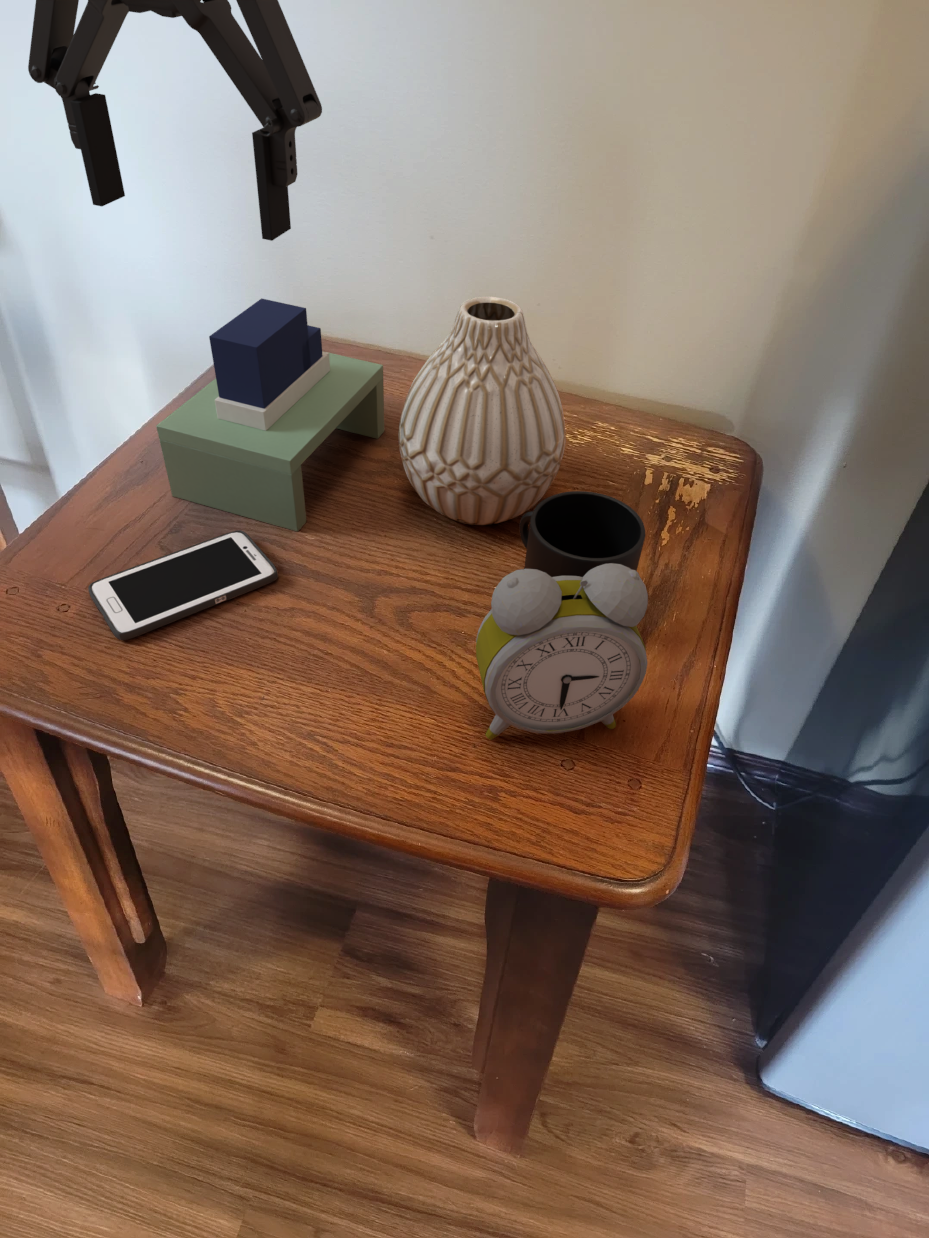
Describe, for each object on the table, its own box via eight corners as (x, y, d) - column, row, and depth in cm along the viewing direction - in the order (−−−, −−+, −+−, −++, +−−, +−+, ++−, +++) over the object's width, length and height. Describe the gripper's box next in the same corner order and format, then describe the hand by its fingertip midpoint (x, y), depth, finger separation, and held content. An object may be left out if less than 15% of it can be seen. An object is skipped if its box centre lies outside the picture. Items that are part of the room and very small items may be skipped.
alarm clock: (479, 756, 63) (494, 608, 53) (465, 687, 68) (476, 539, 57) (629, 742, 65) (673, 596, 54) (606, 676, 69) (641, 530, 59)
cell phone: (86, 592, 73) (83, 584, 73) (243, 535, 80) (242, 527, 79) (119, 645, 69) (116, 637, 68) (282, 580, 76) (281, 572, 75)
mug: (551, 544, 82) (563, 464, 75) (647, 610, 75) (669, 529, 69) (478, 584, 77) (485, 503, 71) (575, 659, 71) (592, 577, 64)
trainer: (266, 431, 79) (255, 350, 73) (217, 418, 80) (203, 338, 75) (330, 370, 88) (325, 294, 82) (285, 360, 89) (277, 284, 84)
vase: (419, 447, 93) (422, 262, 79) (563, 469, 91) (592, 284, 77) (380, 534, 81) (375, 336, 68) (544, 561, 80) (574, 363, 66)
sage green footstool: (172, 496, 84) (155, 425, 79) (273, 403, 98) (265, 338, 92) (297, 532, 81) (290, 461, 76) (384, 431, 95) (383, 364, 89)
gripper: (369, -175, 46) (373, 231, 61) (-12, -209, 51) (76, 174, 66) (305, -179, 41) (326, 267, 55) (-112, -217, 46) (7, 201, 60)
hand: (191, 217), depth 60 cm, fingers open, 13 cm apart
